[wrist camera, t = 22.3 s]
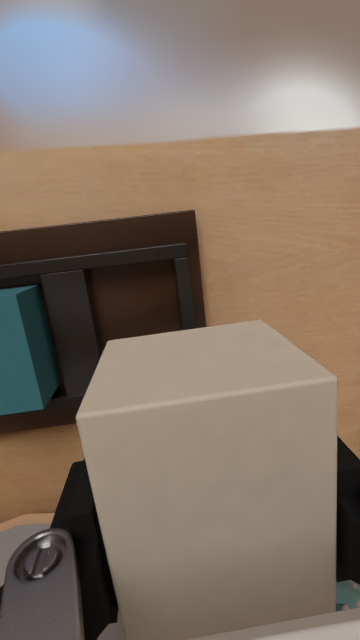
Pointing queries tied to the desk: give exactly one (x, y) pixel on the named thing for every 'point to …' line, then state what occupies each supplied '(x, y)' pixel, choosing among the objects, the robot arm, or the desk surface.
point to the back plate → (103, 293)
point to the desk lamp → (15, 531)
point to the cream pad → (213, 479)
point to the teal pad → (25, 351)
